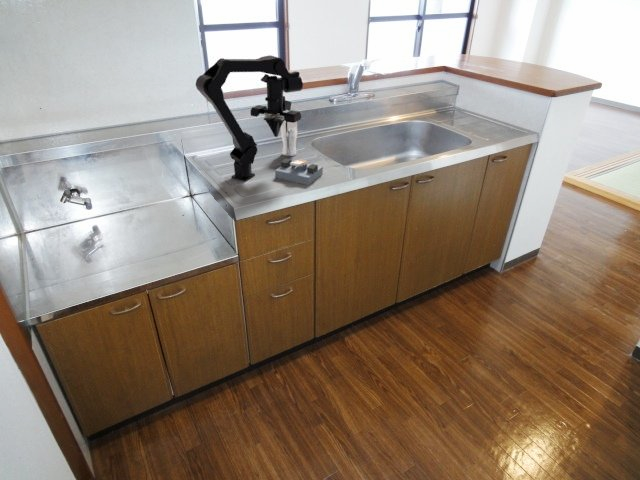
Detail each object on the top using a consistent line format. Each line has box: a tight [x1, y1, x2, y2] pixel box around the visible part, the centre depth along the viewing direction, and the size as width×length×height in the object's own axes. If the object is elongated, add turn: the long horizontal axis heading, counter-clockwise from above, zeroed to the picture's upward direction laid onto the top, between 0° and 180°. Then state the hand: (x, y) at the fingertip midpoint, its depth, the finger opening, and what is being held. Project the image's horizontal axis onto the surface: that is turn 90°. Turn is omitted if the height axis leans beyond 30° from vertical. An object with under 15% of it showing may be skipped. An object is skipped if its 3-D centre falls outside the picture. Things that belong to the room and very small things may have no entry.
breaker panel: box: [274, 159, 324, 186], centre depth 160 cm, size 12×14×5 cm
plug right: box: [307, 163, 319, 174], centre depth 158 cm, size 4×2×2 cm, turn 154°
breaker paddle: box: [290, 159, 309, 166], centre depth 159 cm, size 8×4×1 cm, turn 154°
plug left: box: [280, 158, 292, 168], centre depth 162 cm, size 4×2×2 cm, turn 154°
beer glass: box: [280, 121, 298, 157], centre depth 178 cm, size 7×7×15 cm
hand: (276, 136), depth 160 cm, fingers closed
